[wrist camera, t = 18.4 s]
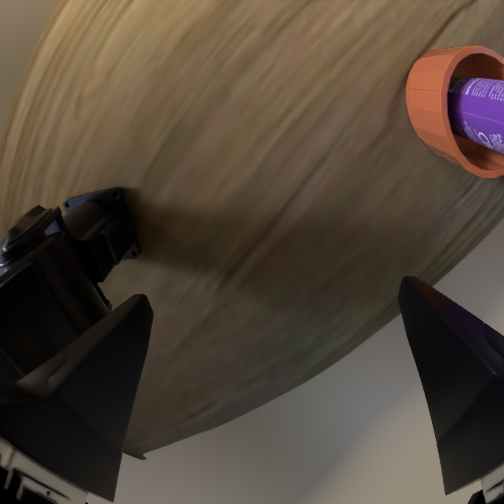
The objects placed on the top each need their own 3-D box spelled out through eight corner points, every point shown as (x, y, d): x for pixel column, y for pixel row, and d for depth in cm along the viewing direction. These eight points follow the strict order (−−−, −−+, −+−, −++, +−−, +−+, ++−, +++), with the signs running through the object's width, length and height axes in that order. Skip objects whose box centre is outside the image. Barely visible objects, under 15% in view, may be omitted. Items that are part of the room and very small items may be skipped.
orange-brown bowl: (405, 156, 19) (438, 176, 14) (400, 40, 14) (434, 31, 10) (488, 161, 18) (524, 181, 13) (488, 62, 13) (527, 65, 9)
